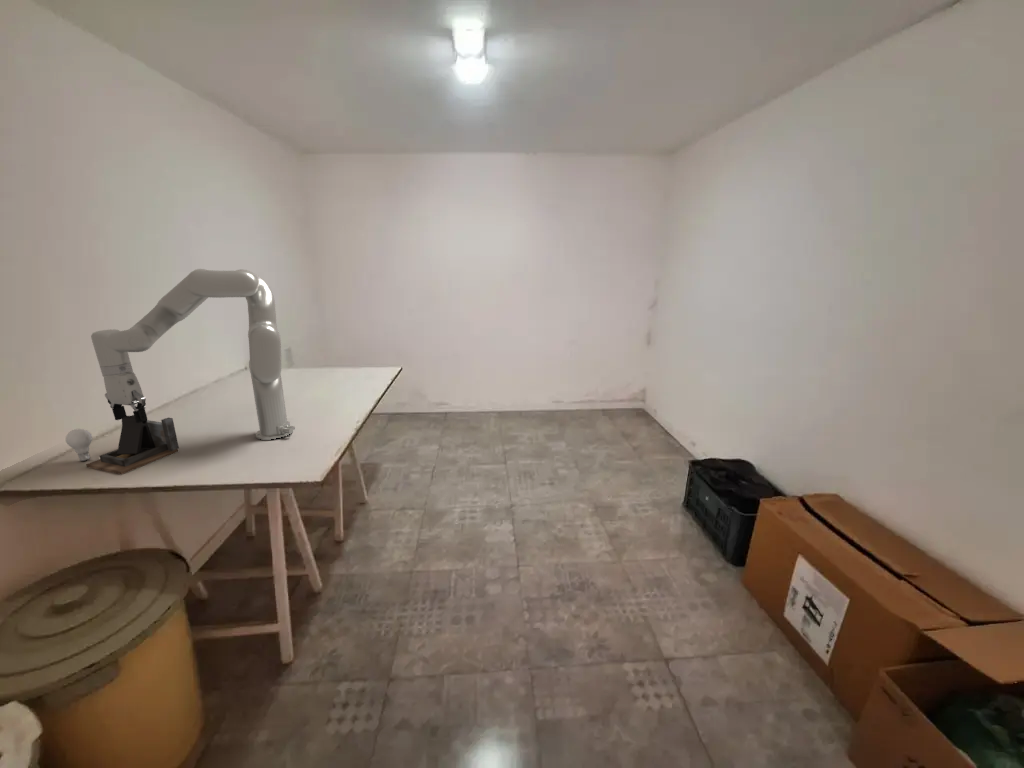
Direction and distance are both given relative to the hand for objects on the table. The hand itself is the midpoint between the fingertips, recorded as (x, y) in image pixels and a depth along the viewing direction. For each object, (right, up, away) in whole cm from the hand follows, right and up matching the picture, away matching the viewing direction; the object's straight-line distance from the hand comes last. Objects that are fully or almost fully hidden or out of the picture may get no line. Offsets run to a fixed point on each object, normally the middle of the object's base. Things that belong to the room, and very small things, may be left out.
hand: (131, 420), depth 152 cm
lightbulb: (-16, -14, +1) cm, 21 cm away
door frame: (-1, -13, +2) cm, 13 cm away
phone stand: (0, -11, +3) cm, 11 cm away
